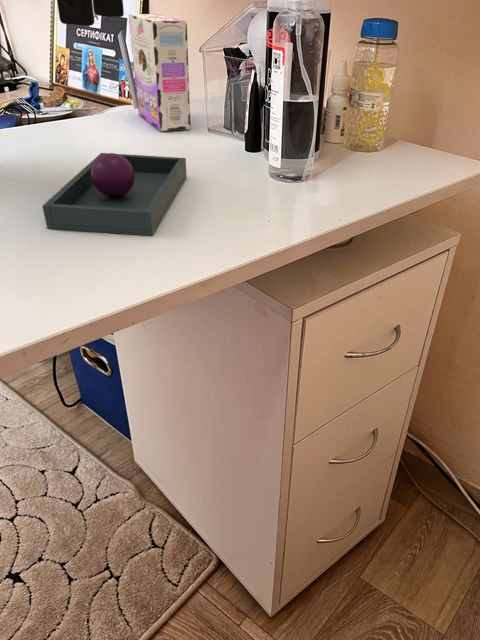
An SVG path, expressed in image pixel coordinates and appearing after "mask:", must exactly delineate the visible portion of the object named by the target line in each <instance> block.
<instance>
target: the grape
mask: <svg viewBox="0 0 480 640" xmlns="http://www.w3.org/2000/svg"><path fill="white" fill-rule="evenodd" d="M106 153H107V152H106ZM119 154H120V153H114V152H108V153H107V154H104V155H101V156H100V157H98V158H97V159H96V160H95V162H94V164H93V166H92V169H91V177H92V181H93V183H94V185H95V187H96V188H97V189H98V190H99V191H100V192H101V193H102V194H104V195H106V196H109V197H120V196H123V195H125V194H127V193H128V192H129V191H130V190H131V188H132V186H133V184H134V180H135V174H134V170H133V167H132V165H131V164H130V162H129V161H128V160H127V159H126V158H124V157H123V156H121V155H119Z"/></svg>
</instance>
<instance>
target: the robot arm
mask: <svg viewBox="0 0 480 640" xmlns="http://www.w3.org/2000/svg"><path fill="white" fill-rule="evenodd" d="M56 3H57V11H58V16H59V22H61V24H63V25H72V26H73V25H74V26H85V27H90V26H93V25H94V24H95V15H96V16H98V17H109V18H110V17H112V18H122V17H124V14H125V12H124V11H125V10H124V0H56Z"/></svg>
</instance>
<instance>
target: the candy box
mask: <svg viewBox="0 0 480 640" xmlns="http://www.w3.org/2000/svg"><path fill="white" fill-rule="evenodd" d="M128 24H129V31H130V33H129V34H130V42H131V43H130V44H131V51H132V53H131V54H132V61H133V62H132V63H133V72H134V81H135V91H136V93H135V94H136V103H137V104H136V105H137V113H138V116H139V117H141V119H143V120H145V121H146V122H147V123H149V124H151V125H152V127H155V128H156V130H159V131H160V132H167V131H168V132H170V131H171V132H172V131H181V130H182V131H185V130H191V127H192V126H191V124H192V123H191V105H190V82H189V81H190V80H189V79H190V78H189V75H190V74H189V47H188V46H189V44H188V43H189V42H188V21H187V20H182V19H177V18H174V17H170V16H167V15H162V14H157V13H129V14H128Z"/></svg>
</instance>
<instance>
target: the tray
mask: <svg viewBox="0 0 480 640" xmlns="http://www.w3.org/2000/svg"><path fill="white" fill-rule="evenodd" d="M104 154H107V152H100V153H99V154H98V155H97V156H96V157H95V158H93V159H92V160H91V162H89V163H88V164H87V165H86V166H85V167H84V168H82V169H81V170H80V171H79V172H77V174H76V175H74V177H73V178H71V179H70V181H68V182H67V183H66V184H65V185H64V186H63V187H61V188H60V189H59V190H58V191H57V192H56V193H54V194H53V196H51V197H50V198H49V199H48V200H47V201H46V202H45V203H44V204H43V205H42V210H43V216H44V220H45V224H46V228H47V229H48V230H59V231H60V230H61V231H74V232H77V231H78V232H91V233H108V234H121V235H137V236H150V237H151V236H152V237H153V236H154V234H155V233H156V230H157V229H158V227H159V225H160V223H161V222H162V220H163V218H164V217H165V215H166V213H167V212H168V210H169V208H170V206H171V205H172V203H173V201H174V200H175V198H176V196H177V195H178V193H179V191H180V189H181V188H182V186H183V184H184V182H185V181H186V179H187V177H188V176H187V159H186V157H175V156H157V155H143V154H142V155H141V154H128V153H127V154H125V153H124V154H123V153H118V154H119V155H121V156H123V157H124V158H126V159H127V160H128V161H129V162H130V164H131V165H132V167H133V170H134V174H135V180H134V184H133V186H132V188H131V190H130V191H129V192H128V193H127V194H125V195H123V196H120V197H109V196H106V195H104V194H102V193H101V192H100V191H99V190H98V189H97V188H96V187H95V185H94V183H93V181H92V177H91V169H92V166H93V164H94V162H95V160H96V159H97V158H98V157H100V156H101V155H104Z"/></svg>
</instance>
